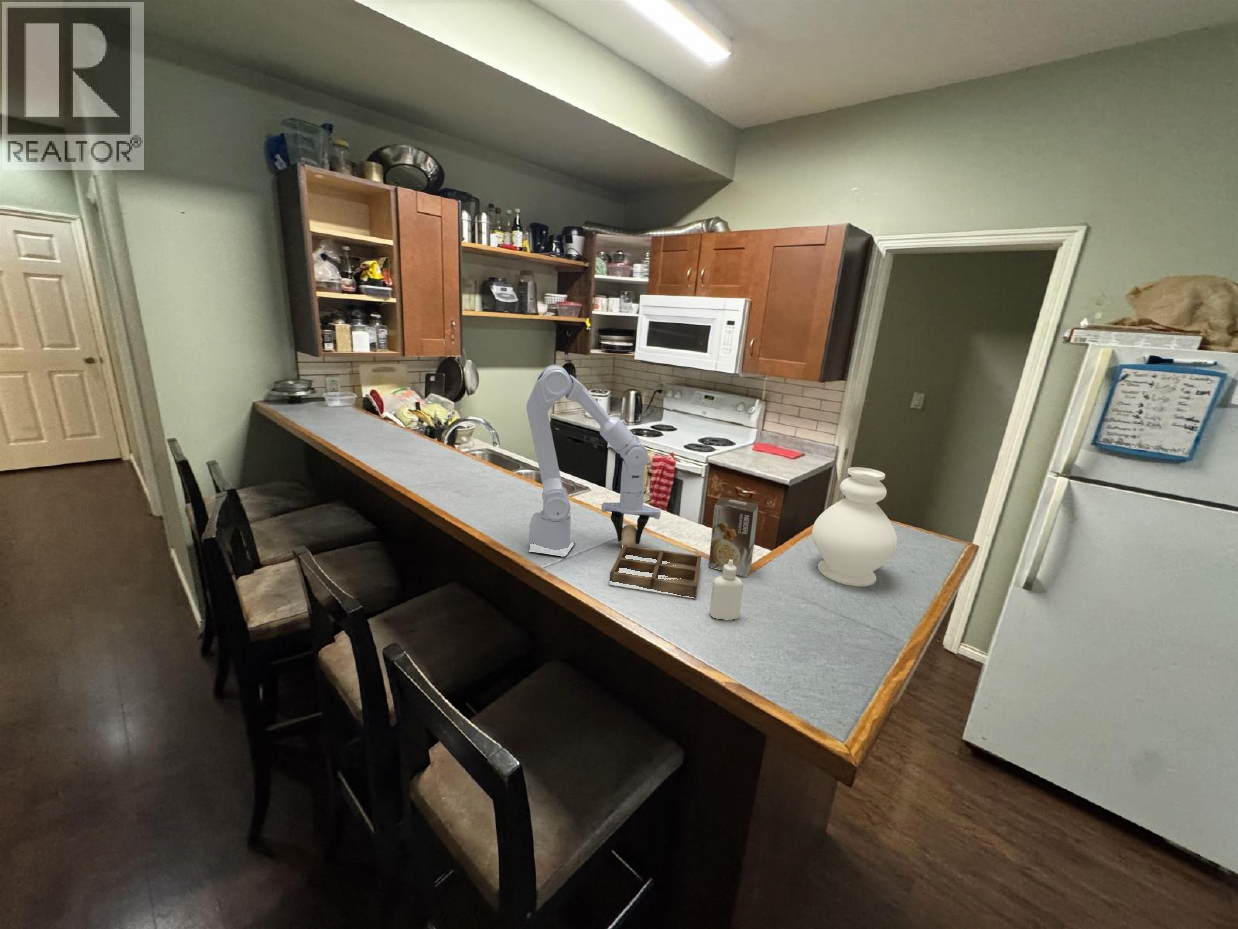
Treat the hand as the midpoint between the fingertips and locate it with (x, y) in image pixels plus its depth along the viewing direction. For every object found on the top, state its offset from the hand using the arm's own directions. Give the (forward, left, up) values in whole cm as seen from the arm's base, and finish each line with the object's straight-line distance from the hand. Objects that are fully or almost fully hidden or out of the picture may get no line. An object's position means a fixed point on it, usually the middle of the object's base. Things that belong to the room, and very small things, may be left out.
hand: (629, 541), depth 122 cm
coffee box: (+25, -3, -2) cm, 25 cm away
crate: (+9, -13, -2) cm, 15 cm away
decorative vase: (+52, +3, -2) cm, 52 cm away
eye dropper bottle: (+24, -24, -2) cm, 34 cm away
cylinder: (0, 0, -2) cm, 2 cm away
